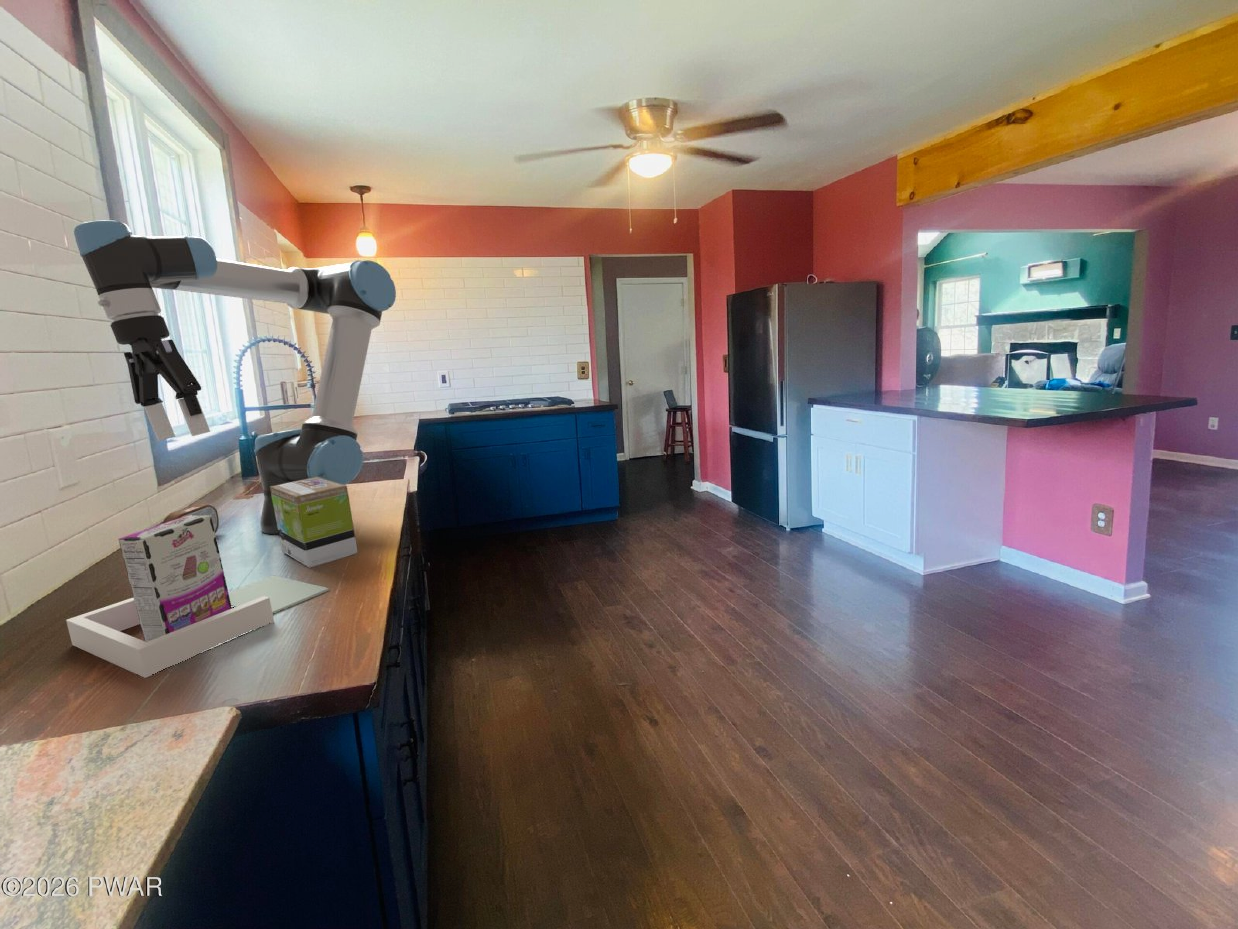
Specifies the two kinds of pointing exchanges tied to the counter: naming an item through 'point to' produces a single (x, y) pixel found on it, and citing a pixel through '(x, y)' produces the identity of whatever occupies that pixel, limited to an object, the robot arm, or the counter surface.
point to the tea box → (314, 520)
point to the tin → (195, 513)
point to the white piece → (147, 658)
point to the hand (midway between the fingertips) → (183, 436)
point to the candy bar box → (175, 574)
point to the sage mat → (276, 592)
